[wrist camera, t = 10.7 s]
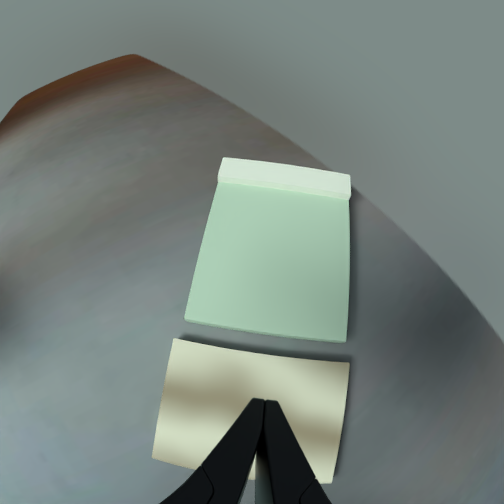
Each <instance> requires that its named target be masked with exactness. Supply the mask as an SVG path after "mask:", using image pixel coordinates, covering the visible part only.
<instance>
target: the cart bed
mask: <svg viewBox="0 0 504 504" xmlns="http://www.w3.org/2000/svg"><path fill="white" fill-rule="evenodd" d="M349 366H350V363H346V362H331V361H319V360H308V359H299V358H289V357H281V356H273V355H266V354H258V353H252V352H245V351H239V350H233V349H227V348H221V347H215V346H210V345H205V344H200V343H195V342H190V341H185V340H180V339H176V338H174V339H173V344H172V349H171V353H170V358H169V363H168V368H167V373H166V378H165V383H164V388H163V394H162V399H161V405H160V410H159V416H158V422H157V428H156V434H155V440H154V447H153V454H152V458H154V459H157V460H161V461H164V462H168V463H171V464H175V465H179V466H183V467H187V468H191V469H195V470H196V469H197V468H198V467H199V466H201V463H202V462H203V461H204V460H205V459H206V457H207V456H208V455H209V454H210V452H211V451H212V450H213V449H214V447H215V446H216V445H217V444H218V442H219V441H220V440H221V439H222V437H223V436H224V435H225V434H226V432H227V431H228V430H229V428H230V427H231V426H232V424H233V423H234V422H235V420H236V419H237V418H238V416H239V415H240V414H241V412H242V411H243V410H244V408H245V407H246V406H247V404H248V403H249V401H250V400H251V399H252V398H261V399H264V400H267V399H269V400H277V401H278V402H279V404H280V406H281V408H282V410H283V412H284V414H285V416H286V418H287V420H288V423H289V425H290V427H291V429H292V431H293V433H294V435H295V437H296V439H297V441H298V443H299V445H300V447H301V449H302V451H303V453H304V455H305V457H306V458H307V460H308V462H309V464H310V466H311V468H312V470H313V472H314V474H315V476H316V478H315V479H318V481H319V483H332V478H333V474H334V469H335V464H336V459H337V454H338V448H339V443H340V437H341V431H342V424H343V417H344V410H345V403H346V395H347V386H348V376H349ZM255 457H256V455H255ZM248 479H253V480H255V458H254V462H253V465H252V468H251V471H250V475H249V478H248Z"/></svg>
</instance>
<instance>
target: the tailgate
mask: <svg viewBox="0 0 504 504" xmlns="http://www.w3.org/2000/svg"><path fill="white" fill-rule="evenodd" d="M350 196H351V184H350V175H347V174H341V173H336V172H330V171H325V170H319V169H313V168H306V167H300V166H293V165H286V164H279V163H271V162H263V161H254V160H245V159H235V158H224V157H223V160H222V163H221V167H220V170H219V173H218V185H217V189H216V192H215V196H214V199H213V203H212V207H211V210H210V214H209V218H208V222H207V225H206V229H205V233H204V237H203V241H202V245H201V249H200V253H199V257H198V261H197V265H196V269H195V273H194V277H193V281H192V286H191V290H190V294H189V299H188V303H187V308H186V312H185V317H184V319H185V320H186V321H187V322H192V323H198V324H203V325H208V326H214V327H220V328H225V329H231V330H238V331H244V332H251V333H257V334H264V335H272V336H279V337H287V338H295V339H304V340H313V341H323V342H334V343H344V342H346V335H347V321H348V303H349V273H350V225H349V199H350Z"/></svg>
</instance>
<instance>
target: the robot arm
mask: <svg viewBox="0 0 504 504" xmlns="http://www.w3.org/2000/svg"><path fill="white" fill-rule="evenodd" d="M255 455H256V457H255ZM254 458H255V504H332V503H331V502H330V500H329V499H328V497H327V496H326V494H325V492H324V490H323V489H322V487H321V485H320V483H319V481H318V479H315V478H316V476H315V474H314V472H313V470H312V468H311V466H310V464H309V462H308V460H307V458H306V457H305V455H304V453H303V451H302V449H301V447H300V445H299V443H298V441H297V439H296V437H295V435H294V433H293V431H292V429H291V427H290V425H289V423H288V420H287V418H286V416H285V414H284V412H283V410H282V408H281V406H280V404H279V402H278V401H277V400H269V399H267V400H264V399H261V398H252V399H251V400H250V401H249V403H248V404H247V406H246V407H245V408H244V410H243V411H242V412H241V414H240V415H239V416H238V418H237V419H236V420H235V422H234V423H233V424H232V426H231V427H230V428H229V430H228V431H227V432H226V434H225V435H224V436H223V437H222V439H221V440H220V441H219V442H218V444H217V445H216V446H215V447H214V449H213V450H212V451H211V452H210V454H209V455H208V456H207V457H206V459H205V460H204V461H203V462H202V463H201V466H199V467H198V468H197V469H196V470H195V472H194V473H193V474H192V475H191V476H190V477H189V478H188V479H187V480H186V481H185V482H184V483H183V484H182V485H181V486H180V487H179V488H178V489H177V490H176V491H174V492H173V493H172V494H171V495H170V496H168V497H167V498H166V499H165V500H163V501H162V502H161V503H159V504H240V502H241V499H242V496H243V493H244V490H245V487H246V484H247V481H248V478H249V475H250V471H251V468H252V465H253V462H254Z"/></svg>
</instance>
